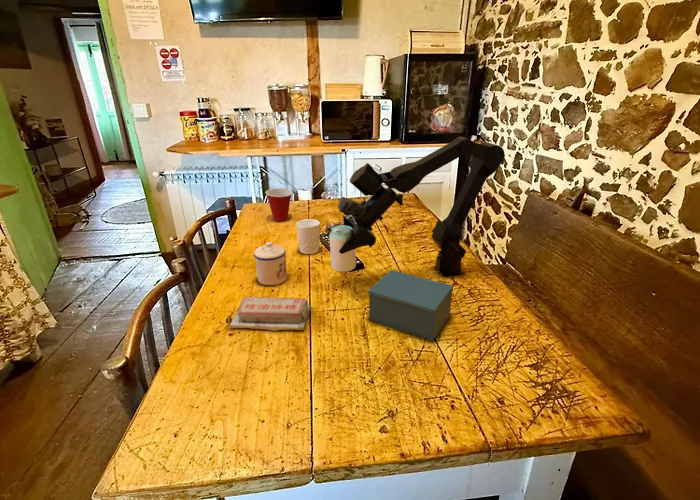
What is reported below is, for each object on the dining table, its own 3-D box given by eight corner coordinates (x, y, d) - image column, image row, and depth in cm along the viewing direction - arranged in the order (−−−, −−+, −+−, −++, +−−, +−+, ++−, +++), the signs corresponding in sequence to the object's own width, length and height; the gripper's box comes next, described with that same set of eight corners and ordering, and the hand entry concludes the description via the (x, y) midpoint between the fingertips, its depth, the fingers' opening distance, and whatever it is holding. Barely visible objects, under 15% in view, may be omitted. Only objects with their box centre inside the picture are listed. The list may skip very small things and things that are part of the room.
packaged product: (309, 292, 100) (302, 314, 91) (310, 308, 102) (304, 332, 93) (240, 290, 102) (226, 312, 93) (243, 306, 104) (229, 329, 95)
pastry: (356, 235, 147) (356, 226, 146) (324, 235, 148) (324, 226, 146) (356, 228, 154) (356, 219, 152) (326, 228, 154) (325, 219, 153)
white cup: (293, 253, 134) (291, 225, 129) (304, 244, 140) (303, 217, 136) (314, 256, 131) (313, 228, 127) (324, 247, 138) (323, 220, 133)
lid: (434, 313, 86) (434, 310, 86) (368, 293, 94) (368, 290, 94) (452, 288, 95) (453, 285, 95) (390, 272, 103) (390, 269, 103)
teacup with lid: (283, 286, 113) (280, 249, 108) (252, 285, 114) (248, 248, 109) (293, 267, 124) (290, 233, 119) (265, 266, 125) (261, 232, 120)
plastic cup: (292, 223, 159) (290, 195, 154) (265, 223, 159) (262, 195, 154) (296, 214, 169) (294, 187, 164) (271, 214, 169) (268, 187, 164)
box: (432, 340, 90) (435, 311, 86) (369, 319, 98) (369, 292, 94) (449, 315, 99) (452, 288, 95) (390, 298, 107) (390, 272, 103)
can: (356, 272, 110) (355, 233, 105) (331, 274, 110) (329, 234, 105) (354, 261, 116) (354, 223, 111) (331, 262, 116) (329, 224, 111)
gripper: (348, 178, 112) (312, 218, 115) (363, 197, 96) (320, 243, 98) (375, 202, 117) (340, 240, 120) (393, 225, 100) (352, 268, 103)
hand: (337, 247), depth 110 cm, fingers closed on can, 7 cm apart
